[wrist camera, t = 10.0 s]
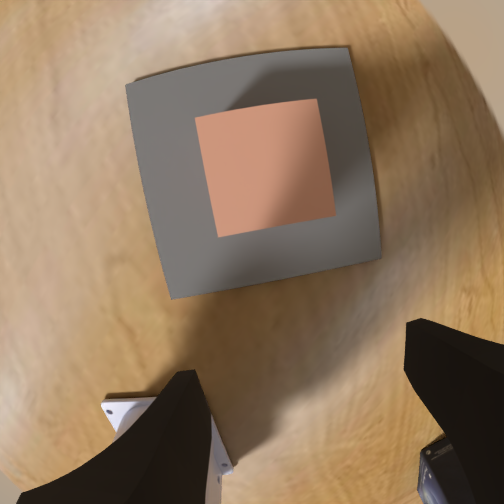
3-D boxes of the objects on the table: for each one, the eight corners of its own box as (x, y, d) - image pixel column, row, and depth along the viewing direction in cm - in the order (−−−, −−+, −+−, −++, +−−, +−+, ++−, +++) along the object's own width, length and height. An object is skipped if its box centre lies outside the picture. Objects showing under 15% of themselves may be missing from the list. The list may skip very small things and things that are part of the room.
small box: (415, 451, 23) (456, 527, 13) (469, 421, 23) (517, 486, 13) (414, 491, 26) (442, 551, 16) (459, 467, 26) (492, 522, 15)
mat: (377, 255, 18) (381, 258, 17) (173, 295, 18) (171, 299, 17) (344, 51, 15) (347, 47, 14) (128, 87, 15) (125, 84, 14)
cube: (310, 202, 16) (336, 215, 12) (223, 218, 16) (218, 237, 12) (295, 116, 15) (316, 98, 11) (206, 131, 15) (194, 117, 11)
